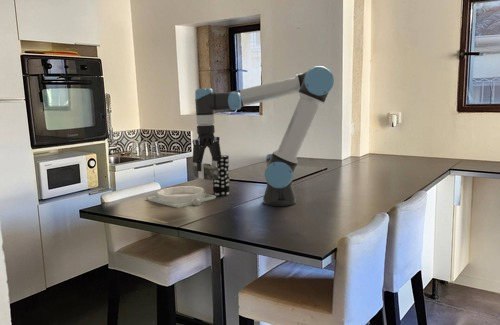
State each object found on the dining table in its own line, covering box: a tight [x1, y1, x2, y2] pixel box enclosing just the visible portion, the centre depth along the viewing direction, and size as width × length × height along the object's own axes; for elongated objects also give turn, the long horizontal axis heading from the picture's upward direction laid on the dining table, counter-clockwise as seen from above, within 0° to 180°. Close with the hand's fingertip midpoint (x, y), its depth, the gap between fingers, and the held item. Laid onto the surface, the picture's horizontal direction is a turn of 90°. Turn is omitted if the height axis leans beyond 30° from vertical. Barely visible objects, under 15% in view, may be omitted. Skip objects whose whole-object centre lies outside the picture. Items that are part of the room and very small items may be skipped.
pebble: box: [192, 198, 202, 206], centre depth 211 cm, size 4×4×4 cm
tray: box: [146, 193, 217, 209], centre depth 222 cm, size 24×23×2 cm
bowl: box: [156, 185, 206, 205], centre depth 222 cm, size 22×22×4 cm
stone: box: [192, 163, 220, 181], centre depth 202 cm, size 14×7×10 cm, turn 53°
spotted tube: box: [211, 154, 231, 197], centre depth 229 cm, size 8×8×20 cm
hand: (208, 176), depth 201 cm, fingers closed on stone, 7 cm apart
